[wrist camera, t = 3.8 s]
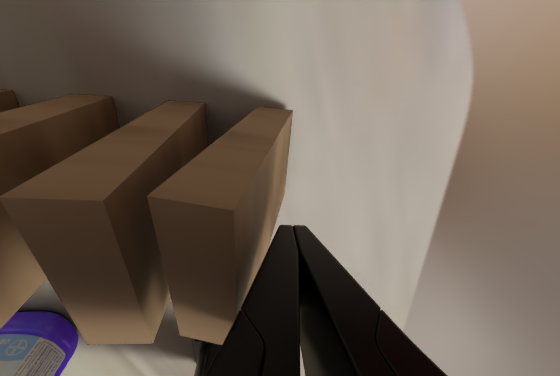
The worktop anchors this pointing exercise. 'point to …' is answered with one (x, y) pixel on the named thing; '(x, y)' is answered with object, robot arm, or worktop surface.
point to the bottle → (36, 344)
